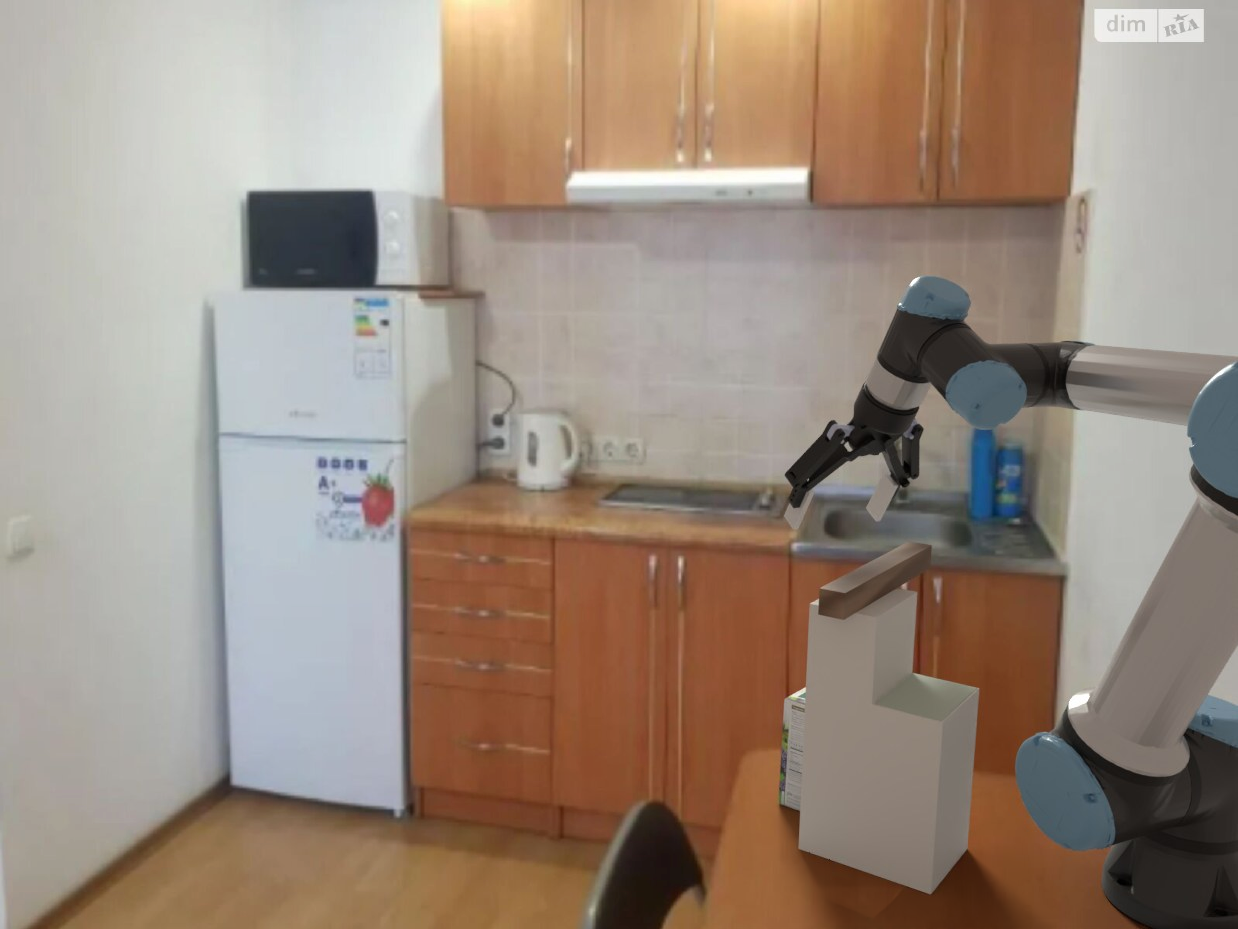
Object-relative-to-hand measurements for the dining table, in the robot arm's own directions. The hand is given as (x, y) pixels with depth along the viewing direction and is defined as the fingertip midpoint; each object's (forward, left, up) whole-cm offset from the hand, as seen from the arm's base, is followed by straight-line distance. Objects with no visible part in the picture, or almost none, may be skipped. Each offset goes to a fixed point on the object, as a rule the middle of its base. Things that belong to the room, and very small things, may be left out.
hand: (832, 518), depth 152 cm
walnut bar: (-14, +16, -4) cm, 22 cm away
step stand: (-18, +20, -34) cm, 43 cm away
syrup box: (-6, +15, -34) cm, 37 cm away
